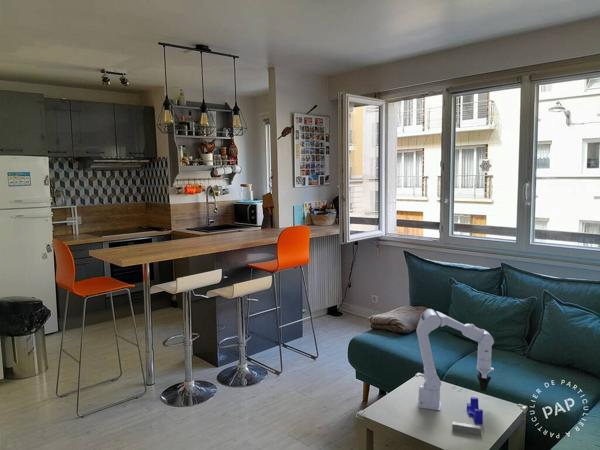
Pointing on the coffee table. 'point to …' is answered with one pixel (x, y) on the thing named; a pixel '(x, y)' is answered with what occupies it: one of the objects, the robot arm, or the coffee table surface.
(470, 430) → the socket strip
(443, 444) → the coffee table surface
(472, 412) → the cable clip
